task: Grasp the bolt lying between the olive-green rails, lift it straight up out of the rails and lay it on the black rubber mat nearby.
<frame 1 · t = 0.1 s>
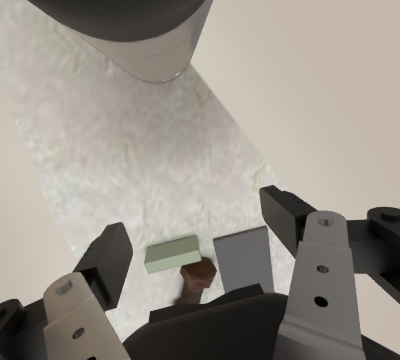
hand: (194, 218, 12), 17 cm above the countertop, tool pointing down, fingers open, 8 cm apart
mat: (246, 275, 37), on the countertop
bolt: (188, 288, 37), on the countertop
rails: (187, 290, 36), on the countertop
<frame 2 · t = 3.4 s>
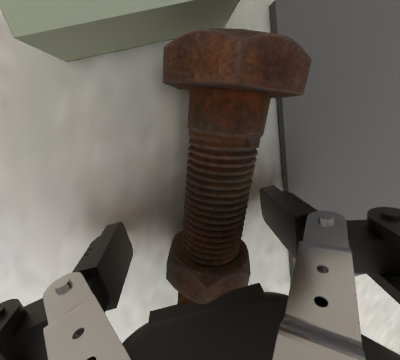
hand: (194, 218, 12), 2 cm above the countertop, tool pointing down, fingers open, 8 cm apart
mat: (347, 163, 14), on the countertop
bolt: (193, 195, 13), on the countertop
rails: (187, 202, 13), on the countertop
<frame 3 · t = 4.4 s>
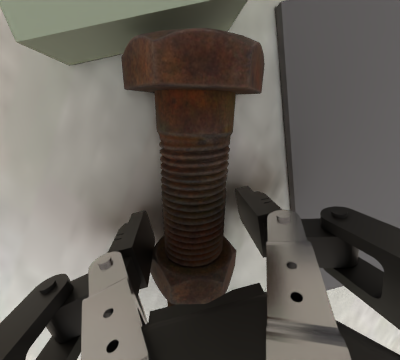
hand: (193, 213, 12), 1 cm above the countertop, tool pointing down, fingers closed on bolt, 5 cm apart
mat: (354, 166, 13), on the countertop
bolt: (188, 196, 13), on the countertop, touching gripper
rails: (191, 207, 13), on the countertop
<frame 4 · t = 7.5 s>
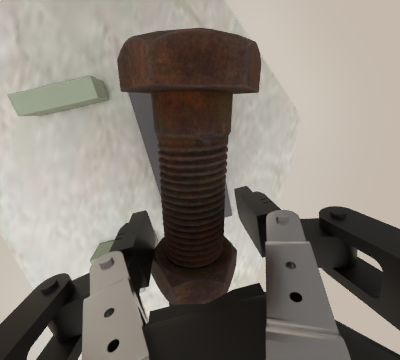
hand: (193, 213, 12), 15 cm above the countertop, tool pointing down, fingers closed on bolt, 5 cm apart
mat: (186, 159, 27), on the countertop
bolt: (188, 196, 13), point 14 cm above the countertop, touching gripper
rails: (103, 179, 26), on the countertop
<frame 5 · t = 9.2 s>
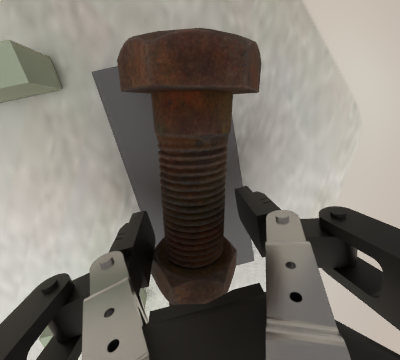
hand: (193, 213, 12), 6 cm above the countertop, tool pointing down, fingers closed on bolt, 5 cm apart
mat: (188, 182, 18), on the countertop
bolt: (188, 196, 13), point 5 cm above the countertop, touching gripper
rails: (61, 212, 17), on the countertop
when the fingers open (3 cm above the countertop, at t = 10.7 s): bolt drops 1 cm, resting on mat.
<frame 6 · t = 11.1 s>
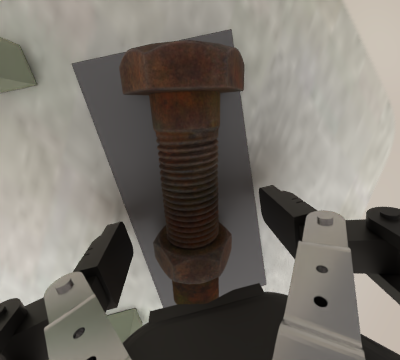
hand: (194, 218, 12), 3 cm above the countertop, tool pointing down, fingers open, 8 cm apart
mat: (190, 196, 15), on the countertop
bolt: (186, 188, 14), resting on mat
rails: (40, 232, 15), on the countertop
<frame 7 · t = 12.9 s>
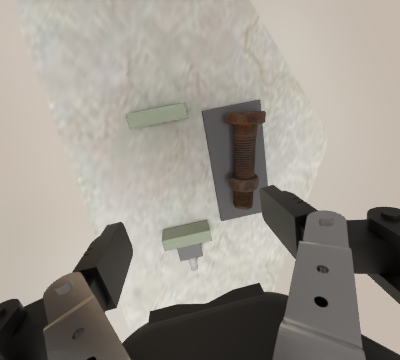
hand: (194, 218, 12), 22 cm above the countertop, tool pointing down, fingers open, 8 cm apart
mat: (238, 164, 34), on the countertop
bolt: (238, 159, 34), resting on mat
rails: (174, 178, 34), on the countertop
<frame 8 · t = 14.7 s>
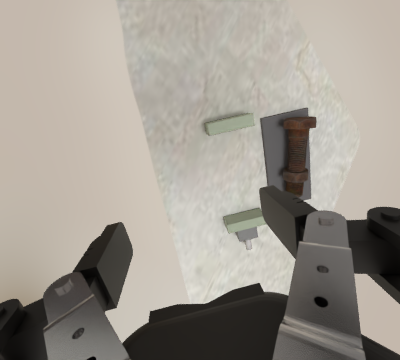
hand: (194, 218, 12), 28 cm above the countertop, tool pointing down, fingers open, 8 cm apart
mat: (286, 161, 42), on the countertop
bolt: (289, 156, 41), resting on mat
rails: (234, 173, 41), on the countertop
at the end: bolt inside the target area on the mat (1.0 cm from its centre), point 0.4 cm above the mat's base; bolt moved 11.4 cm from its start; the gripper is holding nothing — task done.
